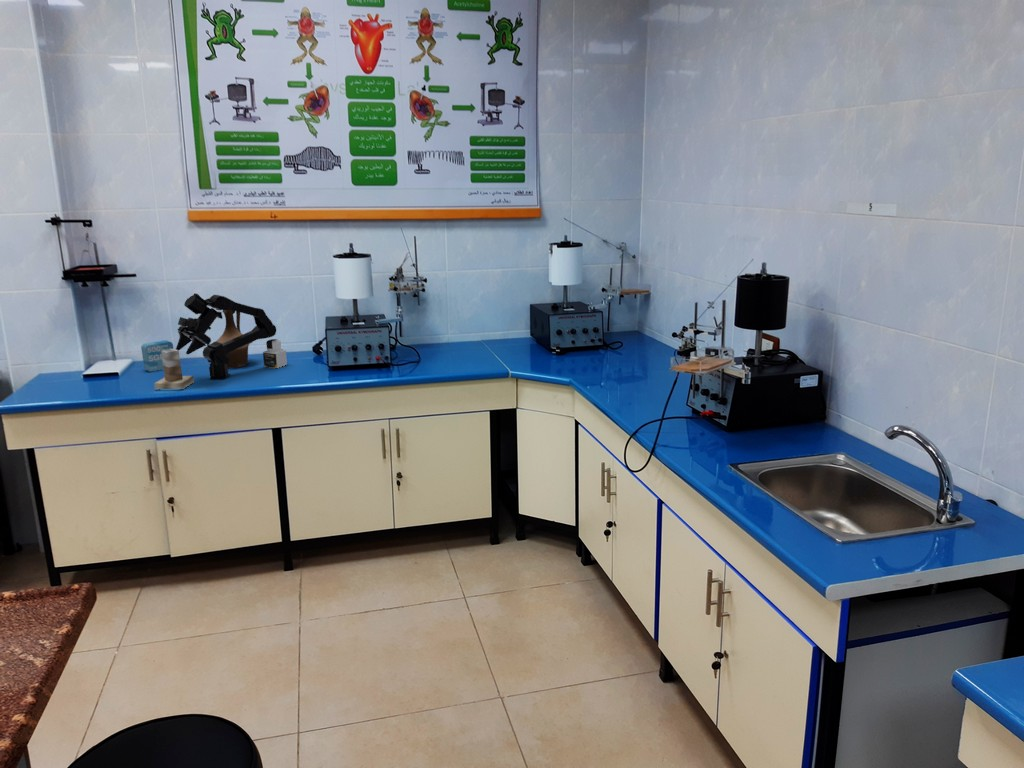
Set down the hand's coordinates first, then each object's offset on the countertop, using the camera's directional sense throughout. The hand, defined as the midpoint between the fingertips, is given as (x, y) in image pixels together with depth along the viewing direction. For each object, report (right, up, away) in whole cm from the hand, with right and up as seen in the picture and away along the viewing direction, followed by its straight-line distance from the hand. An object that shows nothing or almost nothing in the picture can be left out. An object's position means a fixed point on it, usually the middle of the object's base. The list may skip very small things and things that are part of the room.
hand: (181, 352), depth 310 cm
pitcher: (+10, -5, +34) cm, 36 cm away
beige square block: (-3, -14, +1) cm, 14 cm away
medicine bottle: (+29, -5, +31) cm, 42 cm away
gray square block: (-3, -11, 0) cm, 12 cm away
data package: (-21, -7, +28) cm, 36 cm away
